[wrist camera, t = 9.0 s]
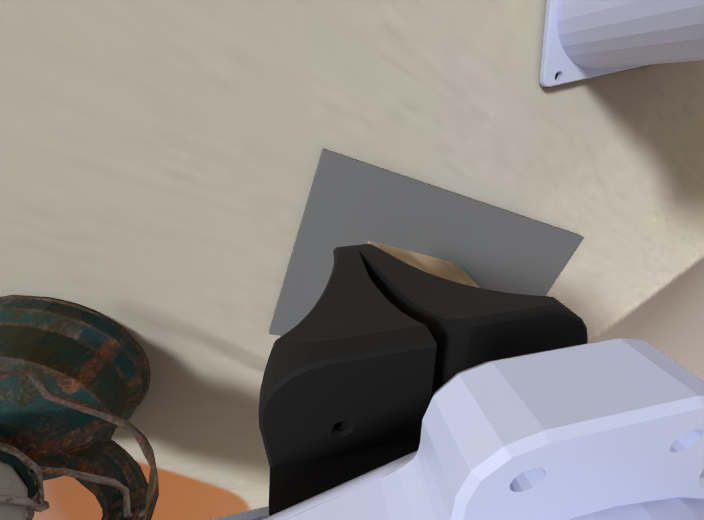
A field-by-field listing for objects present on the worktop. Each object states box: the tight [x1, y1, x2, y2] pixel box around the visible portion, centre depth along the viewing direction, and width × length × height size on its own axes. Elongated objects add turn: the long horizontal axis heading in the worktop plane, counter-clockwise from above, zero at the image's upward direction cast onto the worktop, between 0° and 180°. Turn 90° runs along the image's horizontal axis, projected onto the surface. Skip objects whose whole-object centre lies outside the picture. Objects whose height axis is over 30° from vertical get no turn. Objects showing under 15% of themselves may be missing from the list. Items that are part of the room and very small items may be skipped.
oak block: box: [368, 241, 484, 289], centre depth 23 cm, size 4×4×8 cm
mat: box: [269, 149, 584, 336], centre depth 26 cm, size 22×14×1 cm, turn 71°
